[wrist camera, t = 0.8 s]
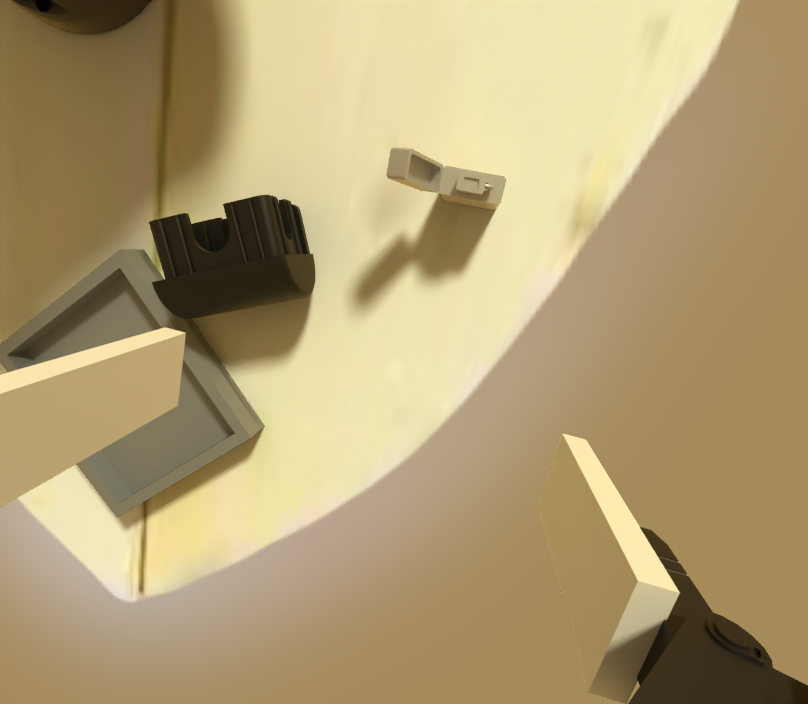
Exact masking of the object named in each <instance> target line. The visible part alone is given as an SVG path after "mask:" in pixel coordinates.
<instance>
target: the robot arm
mask: <svg viewBox="0 0 808 704" xmlns="http://www.w3.org/2000/svg"><path fill="white" fill-rule="evenodd" d="M11 1H12V2H13V3H15V4H16V5H18V6H19V7H21V8H22V9H24V10H25V11H27V12H29V13H31V14H32V15H34V16H36V17H38V18H40V19H42V20H43V21H45V22H47V23H49V24H51V25H53V26H55V27H57V28H60V29H62V30H65V31H69V32H73V33H80V34H96V33H102V32H106V31H110V30H112V29H115V28H117V27H119V26H121V25H123V24H125V23H126V22H128V21H129V20H131V19H132V18H134V17H135V16H136V15H137V14H138V13H139V12H140V11H141V10H142V9H143V8H144V7H145V6H146V5H147V3H148V2H149V1H150V0H11ZM185 337H186V333H185V332H181V331H177V330H173V329H170V328H166V327H165V328H161V329H158V330H154V331H151V332H147V333H144V334H140V335H137V336H133V337H130V338H126V339H123V340H119V341H116V342H112V343H109V344H105V345H102V346H98V347H95V348H91V349H88V350H84V351H81V352H78V353H74V354H71V355H67V356H64V357H60V358H57V359H53V360H50V361H46V362H43V363H39V364H36V365H32V366H29V367H25V368H22V369H18V370H15V371H11V372H8V373H4V374H1V375H0V507H2V506H4V505H5V504H7V503H9V502H11V501H12V500H14V499H16V498H18V497H19V496H21V495H23V494H25V493H26V492H28V491H30V490H32V489H33V488H35V487H37V486H39V485H40V484H42V483H44V482H46V481H47V480H49V479H51V478H53V477H54V476H56V475H58V474H60V473H61V472H63V471H65V470H66V469H68V468H70V467H72V466H73V465H75V464H77V463H79V462H80V461H82V460H84V459H86V458H87V457H89V456H91V455H93V454H94V453H96V452H98V451H100V450H101V449H103V448H105V447H107V446H108V445H110V444H112V443H114V442H115V441H117V440H119V439H121V438H122V437H124V436H126V435H127V434H129V433H131V432H133V431H134V430H136V429H138V428H140V427H141V426H143V425H145V424H147V423H148V422H150V421H152V420H154V419H155V418H157V417H159V416H161V415H162V414H164V413H166V412H168V411H169V410H171V409H173V408H175V407H176V406H178V401H179V392H180V383H181V373H182V364H183V355H184V346H185ZM537 508H538V512H539V515H540V519H541V522H542V526H543V529H544V533H545V537H546V541H547V544H548V548H549V551H550V555H551V559H552V562H553V566H554V570H555V573H556V577H557V581H558V584H559V588H560V592H561V595H562V599H563V602H564V606H565V610H566V613H567V617H568V621H569V624H570V628H571V632H572V635H573V638H574V642H575V646H576V650H577V653H578V656H579V660H580V664H581V668H582V671H583V675H584V679H585V682H586V686H587V690H588V692H589V693H593V694H596V695H599V696H602V697H606V698H609V699H613V700H615V701H619V702H622V703H625V704H627V702H628V700H629V697H630V695H631V693H632V691H633V689H634V687H635V685H636V683H637V681H638V682H639V684H640V687H639V689H638V690H637V692H636V693H635V694H634V696H633V698H632V699H631V700H630V702H629V703H628V704H808V686H807V685H806V684H804V683H801V682H799V681H798V680H795V679H794V678H792V677H790V676H787V675H785V674H783V673H781V672H779V671H777V670H776V669H774V668H773V666H772V660H771V658H770V657H769V655H768V653H767V652H766V650H765V649H764V648H763V646H762V645H761V644H760V643H759V642H758V641H757V640H755V638H754V637H753V636H752V635H750V634H749V633H748V632H746V631H745V630H744V629H742V628H741V627H740V626H739V625H737V624H735V623H734V622H732V621H730V620H728V619H726V618H724V617H723V616H721V615H718V614H715V613H713V612H712V610H711V609H710V607H709V606H708V604H707V603H706V601H705V600H704V599H703V597H702V596H701V594H700V593H699V591H698V589H697V588H696V587H695V585H694V584H693V582H692V581H691V579H690V578H689V577H688V576H686V572H685V570H684V569H683V567H682V566H681V564H679V563H678V560H677V558H676V557H675V555H674V554H673V552H672V551H671V549H670V548H669V546H668V545H667V544H666V543H665V542H664V541H663V540H661V539H660V538H659V537H658V536H657V535H656V534H655V533H654V532H653V531H651V530H649V529H645V528H642V527H639V525H638V524H637V522H636V521H635V519H634V517H633V516H632V514H631V512H630V511H629V509H628V508H627V506H626V504H625V503H624V501H623V499H622V498H621V496H620V494H619V493H618V491H617V490H616V488H615V486H614V485H613V483H612V482H611V480H610V478H609V477H608V475H607V473H606V472H605V470H604V469H603V467H602V465H601V464H600V462H599V460H598V459H597V457H596V455H595V454H594V452H593V451H592V449H591V447H590V446H589V444H588V443H587V441H586V440H585V439H581V438H577V437H573V436H570V435H566V434H562V437H561V439H560V442H559V445H558V448H557V451H556V453H555V456H554V459H553V462H552V465H551V467H550V470H549V473H548V476H547V479H546V481H545V484H544V487H543V490H542V493H541V495H540V498H539V501H538V504H537Z"/></svg>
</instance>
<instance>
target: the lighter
mask: <svg viewBox="0 0 808 704" xmlns="http://www.w3.org/2000/svg"><path fill="white" fill-rule="evenodd" d="M387 177H388V178H389V179H392V180H394V181H397V182H399V183H402V184H405V185H407V186H410V187H413V188H415V189H418V190H420V191H428V192H436V193H437V192H438V191H439V192H440V194H441V197H442V198H443V200H444V201H448V202H454V203H459V204H464V205H469V206H475V207H480V208H485V209H490V210H495V209H496V208H497V207H498V206H499V204H500V203H501V199H502V195H503V191H504V187H505V182H506V179H505V177H503V176H498V175H492V174H487V173H482V172H476V171H471V170H465V169H460V168H454V167H449V166H446V167H444V168H443V165H442V164H440V163H438V162H436V161H434V160H432V159H430V158H428V157H426V156H424V155H422V154H420V153H418V152H417V151H415V150H413V149H406V148H392V149H391V152H390V158H389V164H388V170H387Z"/></svg>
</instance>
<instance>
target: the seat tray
mask: <svg viewBox="0 0 808 704" xmlns="http://www.w3.org/2000/svg"><path fill="white" fill-rule="evenodd" d="M159 280H164V279H163V277H162V276H161V274H160V273H159V271H158V270H157V268H156V267H155V266H154V264H153V263H152V261H151V260H150V258H149V257H148V255H147V254H146V252H145V251H144V250H120V251H118V252H117V253H116V254H115V255H113V256H112V257H111V258H110V259H108V260H107V261H106V262H105V263H103V264H102V265H101V266H99V267H98V268H97V269H96V270H94V271H93V272H92V273H91V274H89V275H88V276H87V277H85V278H84V279H83V280H82V281H80V282H79V283H78V284H77V285H75V286H74V287H73V288H71V289H70V290H69V291H68V292H66V293H65V294H64V295H63V296H61V297H60V298H59V299H58V300H56V301H55V302H54V303H52V304H51V305H50V306H49V307H47V308H46V309H45V310H44V311H42V312H41V313H40V314H38V315H37V316H36V317H35V318H33V319H32V320H31V321H30V322H28V323H27V324H26V325H25V326H23V327H22V328H21V329H19V330H18V331H17V332H16V333H14V334H13V335H12V336H11V337H9V338H8V339H7V340H5V341H4V342H3V343H2V344H0V362H1V364H2V365H3V366H4V368H5V369H6V370H7V372H11V371H15V370H18V369H22V368H25V367H29V366H32V365H36V364H39V363H43V362H46V361H50V360H53V359H57V358H60V357H64V356H67V355H71V354H74V353H78V352H81V351H84V350H88V349H91V348H95V347H98V346H102V345H105V344H109V343H112V342H116V341H119V340H123V339H126V338H130V337H133V336H137V335H140V334H144V333H147V332H151V331H154V330H158V329H161V328H165V327H166V328H170V329H173V330H177V331H181V332H185V333H186V337H185V346H184V355H183V364H182V373H181V383H180V392H179V401H178V406H176V407H175V408H173V409H171V410H169V411H168V412H166V413H164V414H162V415H161V416H159V417H157V418H155V419H154V420H152V421H150V422H148V423H147V424H145V425H143V426H141V427H140V428H138V429H136V430H134V431H133V432H131V433H129V434H127V435H126V436H124V437H122V438H121V439H119V440H117V441H115V442H114V443H112V444H110V445H108V446H107V447H105V448H103V449H101V450H100V451H98V452H96V453H94V454H93V455H91V456H89V457H87V458H86V459H84V460H82V461H80V462H79V463H77V465H78V466H79V468H80V469H81V470H82V472H83V473H84V474H85V476H86V477H87V478H88V480H89V481H90V482H91V483H92V485H93V486H94V487H95V489H96V490H97V491H98V493H99V494H100V495H101V497H102V498H103V499H104V501H105V502H106V503H107V505H108V506H109V507H110V509H111V510H112V511H113V513H114V514H115V515H116V517H119V516H121V515H122V514H124V513H126V512H127V511H129V510H131V509H132V508H134V507H136V506H138V505H139V504H141V503H143V502H144V501H146V500H148V499H149V498H151V497H153V496H154V495H156V494H158V493H159V492H161V491H163V490H164V489H166V488H168V487H169V486H171V485H173V484H174V483H176V482H178V481H180V480H181V479H183V478H185V477H186V476H188V475H190V474H191V473H193V472H195V471H196V470H198V469H200V468H201V467H203V466H205V465H206V464H208V463H210V462H211V461H213V460H215V459H216V458H218V457H220V456H222V455H223V454H225V453H227V452H228V451H230V450H232V449H233V448H235V447H237V446H238V445H240V444H242V443H243V442H245V441H247V440H248V439H250V438H252V437H253V436H254V435H255V434H256V433H257V432H258V431H260V430H261V429H262V428H263V427H264V425H263V423H262V422H261V420H260V419H259V417H258V416H257V414H256V413H255V411H254V410H253V408H252V407H251V406H250V404H249V403H248V401H247V400H246V398H245V397H244V395H243V394H242V392H241V391H240V390H239V388H238V387H237V385H236V384H235V382H234V381H233V379H232V378H231V376H230V375H229V373H228V372H227V371H226V369H225V368H224V366H223V365H222V363H221V362H220V360H219V359H218V357H217V356H216V355H215V353H214V352H213V350H212V349H211V347H210V346H209V344H208V343H207V341H206V340H205V338H204V337H203V336H202V334H201V333H200V331H199V330H198V328H197V327H196V325H195V324H194V322H193V321H192V320H191V319H184V318H180V317H178V316H176V315H174V314H172V313H171V312H170V311H169V310H168V309H167V308H166V307H165V306H164V305H163V304H162V302H161V301H160V299H159V298H158V296H157V294H156V292H155V290H154V287H153V285H152V282H155V281H159Z"/></svg>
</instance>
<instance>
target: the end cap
mask: <svg viewBox="0 0 808 704" xmlns="http://www.w3.org/2000/svg"><path fill="white" fill-rule="evenodd" d="M223 206H224V209H225V213H226V217H227V219H223V220H222V218H216V219H211V220H207V221H202V222H198V223H194V224H191V222H190V218H189V215H188V214H187V213H183V214H179V215H175V216H170V217H166V218H162V219H158V220H153V221H150V222H149V224H150V227H151V231H152V234H153V238H154V241H155V245H156V248H157V252H158V255H159V259H160V262H161V265H162V269H163V272H164V276H165V279H164V280H159V281H155V282H152V285H153V287H154V290H155V292H156V294H157V296H158V298H159V299H160V301H161V302H162V304H163V305H164V306H165V307H166V308H167V309H168V310H169V311H170V312H171V313H172V314H174V315H176V316H178V317H180V318H184V319H192V318H197V317H203V316H208V315H213V314H219V313H224V312H229V311H234V310H240V309H245V308H250V307H256V306H261V305H266V304H271V303H277V302H282V301H287V300H292V299H298V298H303V297H307V296H309V295H310V294H311V292H312V291H313V288H314V284H315V264H314V258H313V254H310V251H309V247H308V242H307V238H306V234H305V229H304V225H303V220H302V216H301V212H300V209H299V207H297V206H296V205H293V204H291V202H290V201H288V200H285V199H283V200H279V203H278V199H277V197H274V196H270V195H261V196H255V197H251V198H247V199H243V200H238V201H234V202H230V203H226V204H223Z"/></svg>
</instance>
